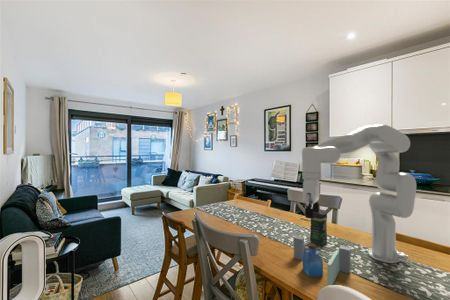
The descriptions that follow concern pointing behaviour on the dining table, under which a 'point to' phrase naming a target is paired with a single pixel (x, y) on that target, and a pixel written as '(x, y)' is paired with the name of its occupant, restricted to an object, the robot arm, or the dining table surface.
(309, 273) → the perfume bottle
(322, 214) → the coffee jar
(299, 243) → the door frame
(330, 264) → the door
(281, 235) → the dining table surface
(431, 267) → the dining table surface
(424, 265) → the dining table surface
